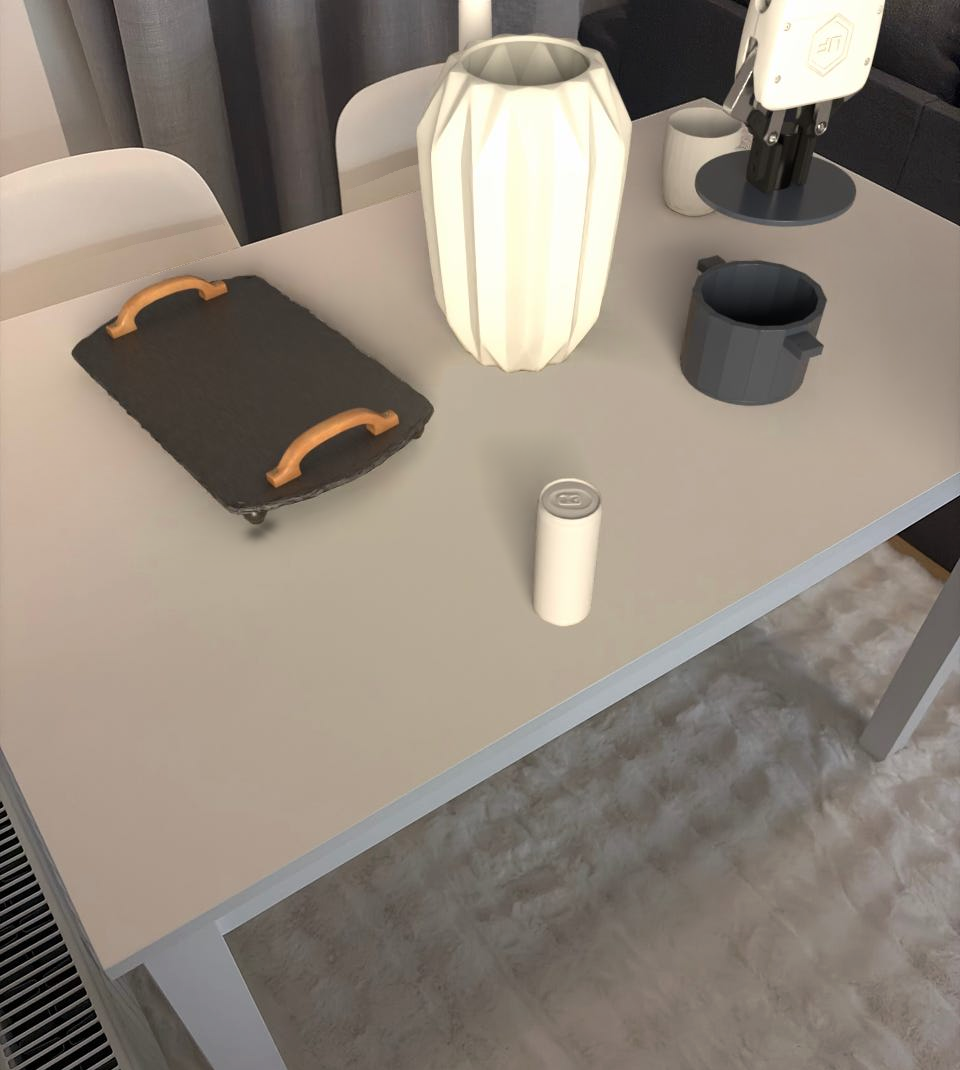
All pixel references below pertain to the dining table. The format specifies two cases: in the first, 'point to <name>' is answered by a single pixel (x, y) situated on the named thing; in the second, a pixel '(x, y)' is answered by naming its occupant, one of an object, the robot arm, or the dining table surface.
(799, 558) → the dining table surface
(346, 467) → the serving tray
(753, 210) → the lid
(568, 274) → the vase
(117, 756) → the dining table surface
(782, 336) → the pot
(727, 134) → the mug
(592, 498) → the beverage can
